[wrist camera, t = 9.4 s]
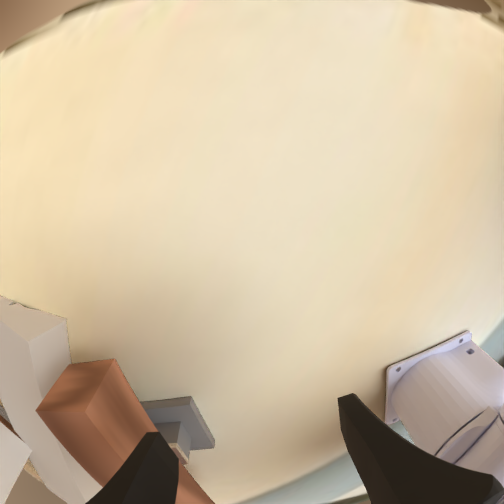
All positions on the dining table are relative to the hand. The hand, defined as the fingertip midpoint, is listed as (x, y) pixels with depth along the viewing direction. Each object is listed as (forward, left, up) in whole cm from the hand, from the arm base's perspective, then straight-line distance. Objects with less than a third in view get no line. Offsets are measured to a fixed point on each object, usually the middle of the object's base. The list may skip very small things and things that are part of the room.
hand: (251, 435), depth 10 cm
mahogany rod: (+10, +9, -6) cm, 15 cm away
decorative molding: (+26, +10, -11) cm, 30 cm away
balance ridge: (+10, +9, -10) cm, 17 cm away
